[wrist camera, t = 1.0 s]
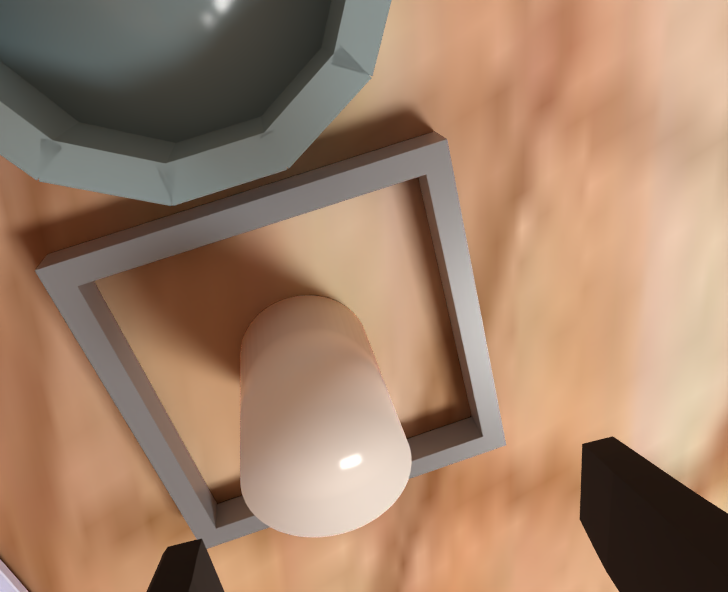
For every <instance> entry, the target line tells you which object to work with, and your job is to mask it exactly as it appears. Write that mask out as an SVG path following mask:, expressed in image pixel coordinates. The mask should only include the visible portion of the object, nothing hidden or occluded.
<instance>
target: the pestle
mask: <svg viewBox="0 0 728 592" xmlns="http://www.w3.org/2000/svg"><path fill="white" fill-rule="evenodd" d="M411 464H412V461H411V451H410V447H409V444H408V441H407V439H406V436H405V434H404V431H403V428H402V426H401V423H400V421H399V418H398V415H397V413H396V410H395V408H394V405H393V402H392V400H391V397H390V395H389V392H388V389H387V387H386V384H385V382H384V379H383V376H382V374H381V371H380V369H379V366H378V363H377V361H376V358H375V356H374V353H373V351H372V348H371V345H370V343H369V340H368V338H367V335H366V332H365V330H364V327H363V325H362V323H361V322H360V320H359V319H358V317H357V316H356V315H355V314H354V313H353V312H352V311H351V310H350V309H349V308H347V307H346V306H344V305H343V304H341V303H339V302H337V301H335V300H332V299H330V298H326V297H322V296H314V295H301V296H294V297H290V298H286V299H283V300H281V301H278V302H276V303H274V304H272V305H271V306H269V307H267V308H266V309H265V310H263V311H262V312H261V313H260V314H259V315H257V316H256V317H255V319H254V320H253V321H252V322H251V323H250V325H249V327H248V328H247V330H246V332H245V334H244V337H243V340H242V343H241V351H240V486H241V491H242V495H243V498H244V500H245V503H246V504H247V506H248V508H249V509H250V511H251V512H252V513H253V514H254V515H255V516H256V517H257V518H258V519H259V520H260V521H262V522H263V523H264V524H266V525H268V526H269V527H271V528H273V529H275V530H278V531H280V532H283V533H286V534H289V535H295V536H300V537H326V536H333V535H338V534H342V533H346V532H349V531H352V530H355V529H357V528H360V527H362V526H364V525H366V524H368V523H370V522H371V521H373V520H374V519H376V518H377V517H379V516H380V515H381V514H383V513H384V512H385V511H386V510H388V509H389V508H390V507H391V506H392V505H393V504H394V502H395V501H396V500H397V499H398V497H399V496H400V495H401V493H402V491H403V490H404V488H405V486H406V484H407V481H408V479H409V475H410V472H411Z"/></svg>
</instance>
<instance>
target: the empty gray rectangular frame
mask: <svg viewBox="0 0 728 592" xmlns="http://www.w3.org/2000/svg"><path fill="white" fill-rule="evenodd" d="M416 177H418V179H419V183H420V188H421V192H422V197H423V201H424V205H425V210H426V214H427V219H428V223H429V228H430V232H431V237H432V241H433V246H434V250H435V255H436V259H437V263H438V268H439V272H440V277H441V281H442V286H443V290H444V295H445V299H446V304H447V308H448V313H449V317H450V321H451V326H452V330H453V335H454V339H455V344H456V348H457V353H458V357H459V362H460V366H461V370H462V375H463V379H464V384H465V388H466V393H467V397H468V402H469V406H470V411H471V415H472V417H470V418H467V419H464V420H461V421H458V422H455V423H452V424H449V425H447V426H444V427H441V428H438V429H435V430H432V431H429V432H426V433H423V434H420V435H417V436H414V437H412V438H409V439H407V441H408V444H409V447H410V451H411V461H412V464H411V472H410V475H409V479H410V478H413V477H416V476H419V475H421V474H424V473H427V472H430V471H433V470H436V469H439V468H442V467H445V466H447V465H450V464H453V463H456V462H459V461H462V460H465V459H468V458H471V457H473V456H476V455H479V454H482V453H485V452H488V451H491V450H494V449H497V448H499V447H502V446H505V445H506V442H505V437H504V431H503V426H502V421H501V416H500V411H499V405H498V400H497V395H496V390H495V385H494V380H493V374H492V369H491V364H490V359H489V354H488V348H487V343H486V338H485V333H484V328H483V322H482V317H481V312H480V307H479V302H478V297H477V291H476V286H475V281H474V276H473V271H472V265H471V260H470V255H469V250H468V245H467V240H466V234H465V229H464V224H463V219H462V214H461V208H460V203H459V198H458V193H457V188H456V183H455V177H454V172H453V167H452V162H451V157H450V151H449V146H448V141H447V139H446V138H444V137H443V136H441V135H440V134H438V133H436V132H435V131H434V132H431V133H428V134H425V135H422V136H419V137H416V138H412V139H409V140H406V141H403V142H400V143H397V144H393V145H390V146H387V147H384V148H381V149H378V150H375V151H371V152H368V153H365V154H362V155H359V156H356V157H352V158H349V159H346V160H343V161H340V162H337V163H334V164H330V165H327V166H324V167H321V168H318V169H315V170H312V171H308V172H305V173H302V174H299V175H296V176H293V177H289V178H286V179H283V180H280V181H277V182H274V183H271V184H267V185H264V186H261V187H258V188H255V189H252V190H248V191H245V192H242V193H239V194H236V195H233V196H230V197H226V198H223V199H220V200H217V201H214V202H211V203H208V204H204V205H201V206H198V207H195V208H192V209H189V210H185V211H182V212H179V213H176V214H173V215H170V216H167V217H163V218H160V219H157V220H154V221H151V222H148V223H144V224H141V225H138V226H135V227H132V228H129V229H126V230H122V231H119V232H116V233H113V234H110V235H107V236H104V237H100V238H97V239H94V240H91V241H88V242H85V243H81V244H78V245H75V246H72V247H69V248H66V249H63V250H59V251H56V252H53V253H50V254H47V256H46V257H45V258H44V259H43V261H42V262H41V263H40V264H39V266H38V267H37V268H36V270H35V272H36V273H37V275H38V277H39V278H40V280H41V282H42V283H43V285H44V287H45V288H46V290H47V292H48V293H49V295H50V297H51V298H52V300H53V302H54V303H55V305H56V307H57V308H58V310H59V312H60V313H61V315H62V317H63V318H64V320H65V322H66V323H67V325H68V326H69V328H70V330H71V331H72V333H73V335H74V336H75V338H76V340H77V341H78V343H79V345H80V346H81V348H82V350H83V351H84V353H85V355H86V356H87V358H88V360H89V361H90V363H91V365H92V366H93V368H94V370H95V371H96V373H97V375H98V376H99V378H100V380H101V381H102V383H103V384H104V386H105V388H106V389H107V391H108V393H109V394H110V396H111V398H112V399H113V401H114V403H115V404H116V406H117V408H118V409H119V411H120V413H121V414H122V416H123V418H124V419H125V421H126V423H127V424H128V426H129V428H130V429H131V431H132V433H133V434H134V436H135V438H136V439H137V441H138V442H139V444H140V446H141V447H142V449H143V451H144V452H145V454H146V456H147V457H148V459H149V461H150V462H151V464H152V466H153V467H154V469H155V471H156V472H157V474H158V476H159V477H160V479H161V481H162V482H163V484H164V486H165V487H166V489H167V491H168V492H169V494H170V496H171V497H172V499H173V500H174V502H175V504H176V505H177V507H178V509H179V510H180V512H181V514H182V515H183V517H184V519H185V520H186V522H187V524H188V525H189V527H190V529H191V530H192V532H193V534H194V535H195V537H196V539H197V540H198V539H202V540H203V542H204V544H205V547H206V549H208V548H211V547H214V546H216V545H219V544H222V543H225V542H228V541H231V540H234V539H237V538H240V537H242V536H245V535H248V534H251V533H254V532H257V531H260V530H263V529H266V528H268V527H269V526H268V525H266V524H264V523H263V522H262V521H260V520H259V519H258V518H257V517H256V516H255V515H254V514H253V513H252V512H251V511H250V509H249V508H248V506H247V504H246V503H245V500H244V498H243V495H242V496H239V497H237V498H234V499H231V500H228V501H225V502H222V503H219V504H217V503H216V501H215V499H214V497H213V496H212V494H211V492H210V490H209V488H208V487H207V485H206V483H205V481H204V479H203V478H202V476H201V474H200V472H199V470H198V469H197V467H196V465H195V463H194V461H193V460H192V458H191V456H190V454H189V452H188V450H187V449H186V447H185V445H184V443H183V441H182V440H181V438H180V436H179V434H178V432H177V431H176V429H175V427H174V425H173V423H172V422H171V420H170V418H169V416H168V414H167V413H166V411H165V409H164V407H163V405H162V404H161V402H160V400H159V398H158V396H157V394H156V393H155V391H154V389H153V387H152V385H151V384H150V382H149V380H148V378H147V376H146V375H145V373H144V371H143V369H142V367H141V366H140V364H139V362H138V360H137V358H136V357H135V355H134V353H133V351H132V349H131V348H130V346H129V344H128V342H127V340H126V338H125V337H124V335H123V333H122V331H121V329H120V328H119V326H118V324H117V322H116V320H115V319H114V317H113V315H112V313H111V311H110V310H109V308H108V306H107V304H106V302H105V301H104V299H103V297H102V295H101V293H100V292H99V290H98V288H97V286H96V284H95V282H94V281H95V280H98V279H102V278H105V277H108V276H111V275H114V274H117V273H120V272H123V271H127V270H130V269H133V268H136V267H139V266H142V265H145V264H148V263H151V262H155V261H158V260H161V259H164V258H167V257H170V256H173V255H176V254H180V253H183V252H186V251H189V250H192V249H195V248H198V247H201V246H204V245H208V244H211V243H214V242H217V241H220V240H223V239H226V238H229V237H233V236H236V235H239V234H242V233H245V232H248V231H251V230H254V229H257V228H261V227H264V226H267V225H270V224H273V223H276V222H279V221H282V220H286V219H289V218H292V217H295V216H298V215H301V214H304V213H307V212H310V211H314V210H317V209H320V208H323V207H326V206H329V205H332V204H335V203H339V202H342V201H345V200H348V199H351V198H354V197H357V196H360V195H363V194H367V193H370V192H373V191H376V190H379V189H382V188H385V187H388V186H392V185H395V184H398V183H401V182H404V181H407V180H410V179H413V178H416Z"/></svg>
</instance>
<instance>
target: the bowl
mask: <svg viewBox="0 0 728 592" xmlns="http://www.w3.org/2000/svg"><path fill="white" fill-rule="evenodd" d="M390 4H391V0H0V155H1V156H3V157H4V158H6V159H7V160H9V161H10V162H11V163H13V164H14V165H16V166H17V167H18V168H20V169H21V170H23V171H24V172H26V173H27V174H28V175H30V176H31V177H33V178H34V179H35V180H38V179H39V181H40V182H45V183H51V184H56V185H61V186H67V187H72V188H77V189H83V190H88V191H93V192H99V193H104V194H109V195H115V196H120V197H125V198H131V199H136V200H142V201H147V202H152V203H158V204H163V205H168V206H171V205H173V206H174V205H177V204H181V203H184V202H187V201H190V200H193V199H196V198H200V197H203V196H206V195H209V194H212V193H215V192H219V191H222V190H225V189H228V188H231V187H234V186H237V185H241V184H244V183H247V182H250V181H253V180H256V179H260V178H263V177H266V176H269V175H272V174H275V173H279V172H282V171H285V170H287V167H288V168H290V167H291V166H292V165H293V164H294V163H295V161H296V160H297V159H298V158H299V157H300V156H301V155H302V154H303V153H304V152H305V150H306V149H307V148H308V147H309V146H310V145H311V144H312V143H313V142H314V141H315V139H316V138H317V137H318V136H319V135H320V134H321V133H322V132H323V131H324V130H325V128H326V127H327V126H328V125H329V124H330V123H331V122H332V121H333V120H334V119H335V117H336V116H337V115H338V114H339V113H340V112H341V111H342V110H343V109H344V108H345V106H346V105H347V104H348V103H349V102H350V101H351V100H352V99H353V98H354V97H355V95H356V94H357V93H358V92H359V91H360V90H361V89H362V88H363V87H364V86H365V84H366V83H367V82H368V81H369V80H370V79H371V77H370V76H373V72H374V68H375V64H376V60H377V56H378V52H379V48H380V44H381V40H382V36H383V32H384V28H385V24H386V20H387V16H388V12H389V8H390ZM369 75H370V76H369Z"/></svg>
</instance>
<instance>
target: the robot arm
mask: <svg viewBox="0 0 728 592" xmlns="http://www.w3.org/2000/svg"><path fill="white" fill-rule="evenodd" d="M580 521H581V523H582V525H583V527H584V529H585V531H586V533H587V535H588V537H589V539H590V541H591V543H592V545H593V547H594V549H595V551H596V553H597V555H598V556H599V558H600V560H601V562H602V564H603V566H604V568H605V570H606V572H607V573H608V575H609V576H610V578H611V580H612V581H613V583H614V584H615V586H616V587H617V589H618V590H619V592H728V513H726V512H725V511H723V510H721V509H720V508H718V507H717V506H715V505H714V504H712V503H711V502H709V501H707V500H706V499H704V498H703V497H701V496H700V495H698V494H697V493H695V492H694V491H692V490H691V489H689V488H688V487H686V486H685V485H683V484H682V483H680V482H679V481H677V480H676V479H674V478H673V477H671V476H670V475H668V474H667V473H666V472H664V471H663V470H661V469H660V468H658V467H657V466H655V465H654V464H652V463H651V462H650V461H648V460H647V459H645V458H644V457H642V456H641V455H639V454H638V453H636V452H635V451H633V450H632V449H631V448H629V447H628V446H626V445H625V444H623V443H622V442H620V441H619V440H617V439H616V438H614V437H609V438H605V439H601V440H597V441H593V442H589V443H585V444H582V470H581V500H580ZM0 592H28V591H27V589H26V588H25V587H24V586H23V585H22V584H21V582H20V581H19V580H18V579H17V578H16V577H15V576H14V574H13V573H12V572H11V571H10V570H9V569H8V568H7V566H6V565H5V564H4V563H3V562H2V561H1V560H0ZM147 592H224V590H223V587H222V585H221V583H220V580H219V578H218V575H217V573H216V571H215V568H214V566H213V564H212V561H211V559H210V556H209V554H208V552H207V549H206V547H205V544H204V542H203V540H202V539H198V540H194V541H190V542H186V543H182V544H178V545H174V546H170V547H168V548H167V549H166V550H165V552H164V553H163V555H162V558H161V560H160V562H159V565H158V567H157V569H156V571H155V574H154V576H153V578H152V581H151V583H150V585H149V587H148V590H147Z"/></svg>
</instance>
